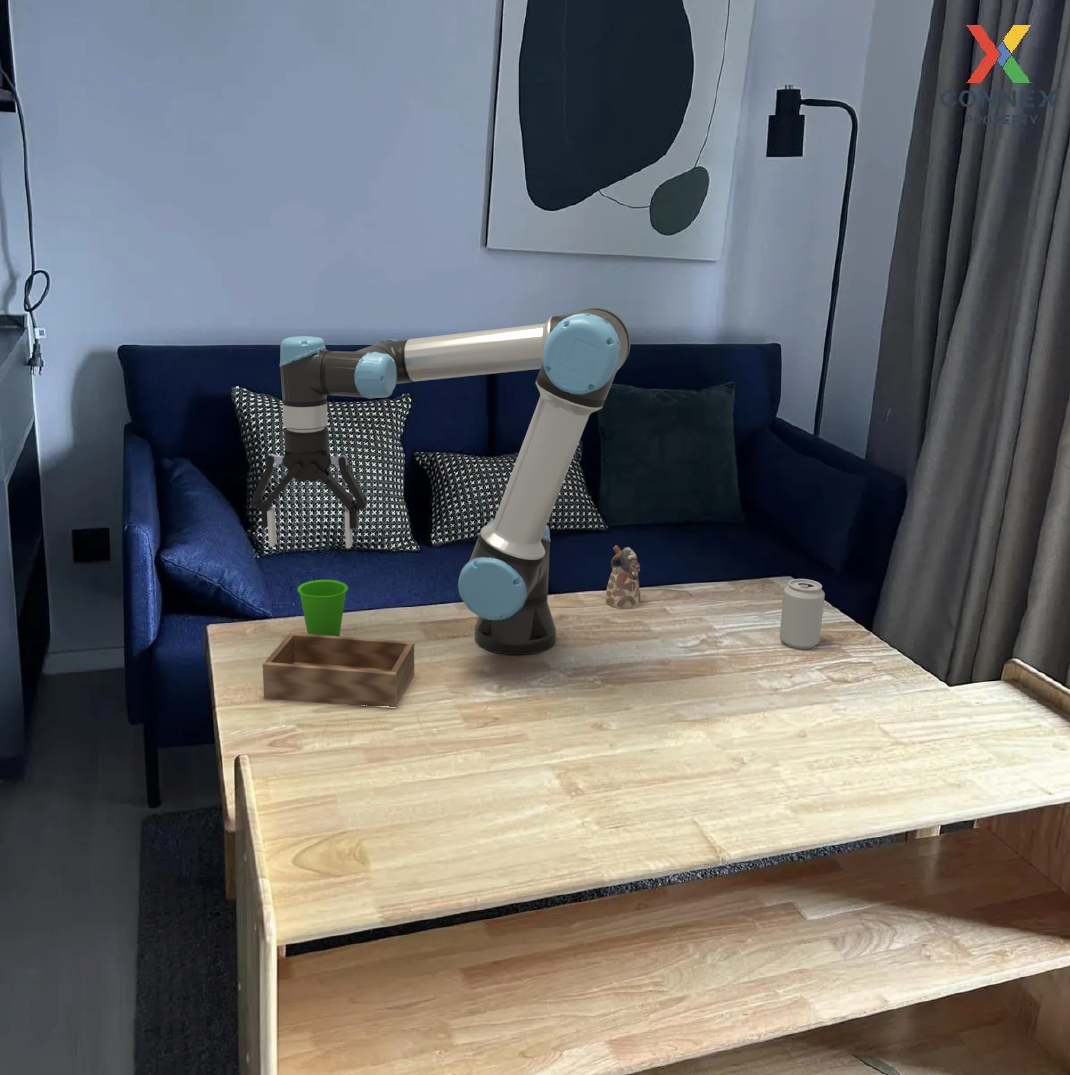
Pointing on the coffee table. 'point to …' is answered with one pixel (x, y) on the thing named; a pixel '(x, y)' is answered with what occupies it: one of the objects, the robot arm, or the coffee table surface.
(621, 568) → the figurine
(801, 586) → the can
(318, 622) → the cup
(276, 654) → the tray
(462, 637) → the coffee table surface
